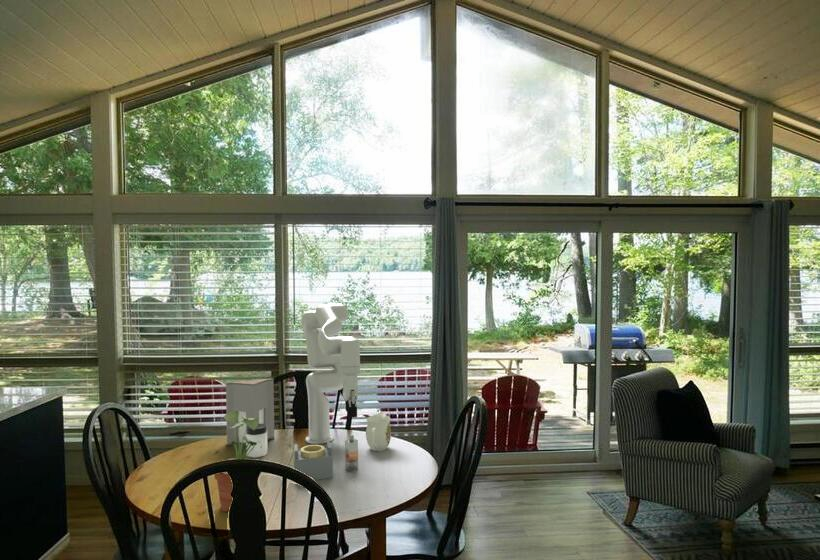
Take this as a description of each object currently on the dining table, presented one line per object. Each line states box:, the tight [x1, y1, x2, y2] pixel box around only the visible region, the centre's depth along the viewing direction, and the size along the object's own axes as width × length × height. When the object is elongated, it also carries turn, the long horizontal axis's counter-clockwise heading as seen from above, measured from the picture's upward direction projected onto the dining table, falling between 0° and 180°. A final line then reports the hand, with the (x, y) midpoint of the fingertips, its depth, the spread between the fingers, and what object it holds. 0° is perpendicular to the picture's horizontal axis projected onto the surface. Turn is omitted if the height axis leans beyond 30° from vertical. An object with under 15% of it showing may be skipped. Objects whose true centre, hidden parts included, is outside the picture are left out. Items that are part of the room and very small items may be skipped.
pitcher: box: [365, 412, 392, 452], centre depth 224 cm, size 11×18×14 cm, turn 169°
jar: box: [245, 424, 268, 459], centre depth 220 cm, size 9×8×12 cm
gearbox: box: [293, 441, 334, 481], centre depth 196 cm, size 10×14×11 cm
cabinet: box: [225, 378, 275, 447], centre depth 234 cm, size 21×10×28 cm, turn 114°
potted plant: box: [214, 412, 261, 512], centre depth 171 cm, size 16×15×35 cm
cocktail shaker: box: [344, 434, 359, 472], centre depth 201 cm, size 5×5×13 cm
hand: (351, 414), depth 201 cm, fingers open, 9 cm apart
